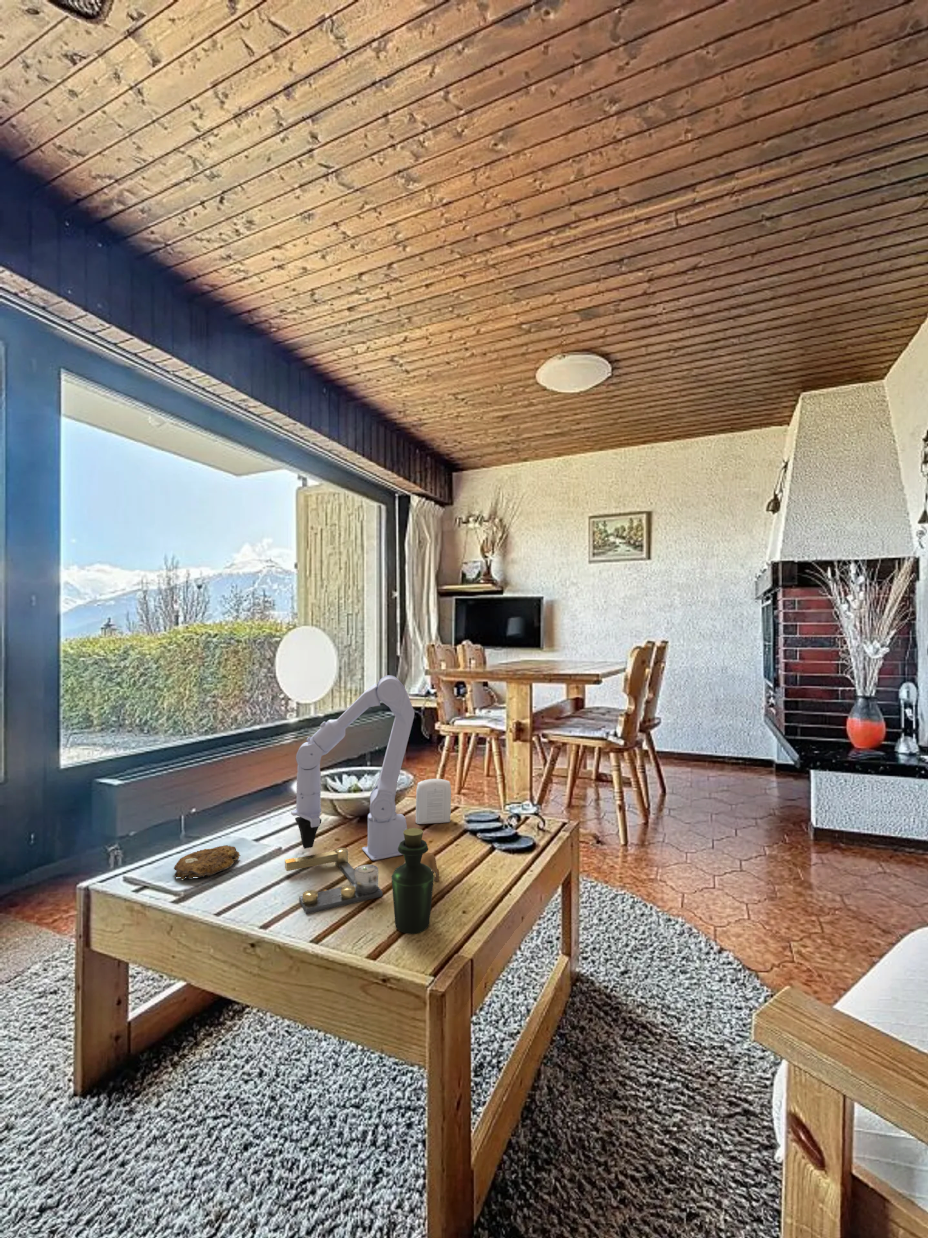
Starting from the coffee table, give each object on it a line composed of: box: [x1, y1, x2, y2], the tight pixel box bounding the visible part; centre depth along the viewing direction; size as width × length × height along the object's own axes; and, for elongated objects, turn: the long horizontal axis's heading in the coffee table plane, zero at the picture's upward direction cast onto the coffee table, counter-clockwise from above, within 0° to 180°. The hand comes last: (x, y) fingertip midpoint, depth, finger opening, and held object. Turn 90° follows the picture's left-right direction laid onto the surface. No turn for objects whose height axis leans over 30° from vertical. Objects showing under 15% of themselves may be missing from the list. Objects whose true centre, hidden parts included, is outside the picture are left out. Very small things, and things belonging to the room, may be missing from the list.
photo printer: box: [415, 778, 452, 825], centre depth 167 cm, size 10×4×12 cm, turn 104°
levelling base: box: [298, 861, 383, 915], centre depth 126 cm, size 16×18×6 cm
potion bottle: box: [391, 827, 435, 935], centre depth 111 cm, size 8×8×18 cm
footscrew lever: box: [284, 847, 349, 872], centre depth 135 cm, size 14×3×3 cm, turn 119°
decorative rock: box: [173, 844, 241, 880], centre depth 135 cm, size 11×4×15 cm
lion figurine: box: [402, 852, 440, 882], centre depth 126 cm, size 15×5×9 cm, turn 163°
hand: (307, 847), depth 142 cm, fingers closed
